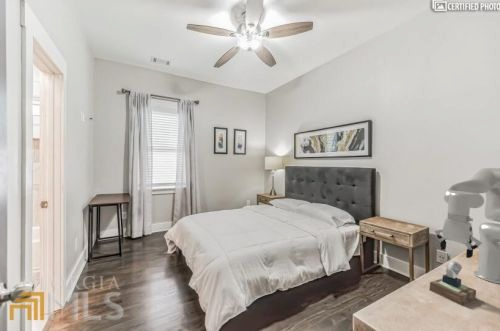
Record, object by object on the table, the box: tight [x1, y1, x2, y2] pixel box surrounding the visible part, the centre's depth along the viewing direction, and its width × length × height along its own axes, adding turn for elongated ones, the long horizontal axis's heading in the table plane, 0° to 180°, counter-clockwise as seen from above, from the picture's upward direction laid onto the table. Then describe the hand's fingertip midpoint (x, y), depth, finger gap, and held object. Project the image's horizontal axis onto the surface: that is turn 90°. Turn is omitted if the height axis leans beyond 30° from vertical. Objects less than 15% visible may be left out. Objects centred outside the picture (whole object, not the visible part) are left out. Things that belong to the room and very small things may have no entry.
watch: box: [441, 260, 463, 288], centre depth 107 cm, size 6×8×11 cm
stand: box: [429, 277, 477, 306], centre depth 106 cm, size 14×12×4 cm
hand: (455, 253), depth 106 cm, fingers open, 9 cm apart
